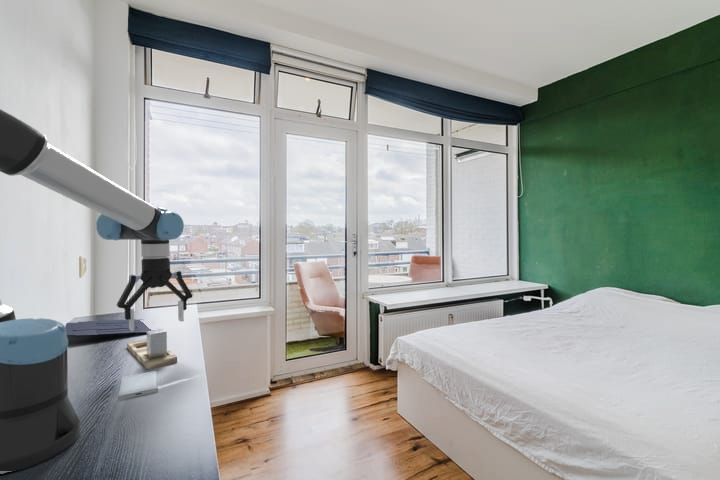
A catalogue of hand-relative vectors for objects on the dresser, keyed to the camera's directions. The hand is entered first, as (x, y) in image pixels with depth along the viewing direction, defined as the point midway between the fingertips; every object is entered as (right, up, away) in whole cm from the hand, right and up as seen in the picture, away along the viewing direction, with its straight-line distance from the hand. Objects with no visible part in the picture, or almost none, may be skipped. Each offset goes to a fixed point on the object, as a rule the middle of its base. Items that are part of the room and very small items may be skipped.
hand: (157, 325), depth 104 cm
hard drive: (+5, -13, -16) cm, 21 cm away
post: (0, -11, 0) cm, 11 cm away
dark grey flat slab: (-37, -11, +31) cm, 50 cm away
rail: (-5, -11, +5) cm, 13 cm away
